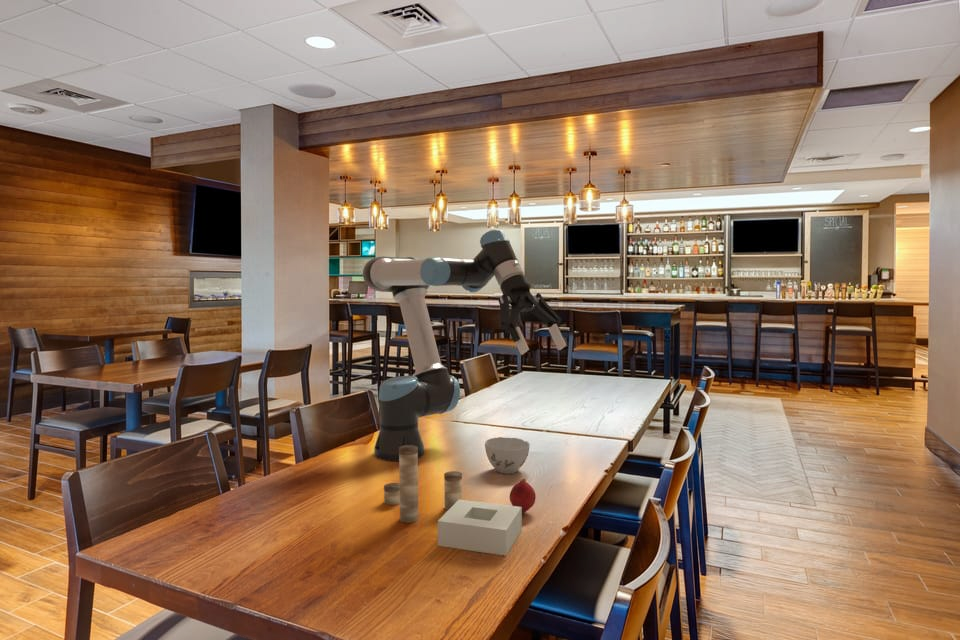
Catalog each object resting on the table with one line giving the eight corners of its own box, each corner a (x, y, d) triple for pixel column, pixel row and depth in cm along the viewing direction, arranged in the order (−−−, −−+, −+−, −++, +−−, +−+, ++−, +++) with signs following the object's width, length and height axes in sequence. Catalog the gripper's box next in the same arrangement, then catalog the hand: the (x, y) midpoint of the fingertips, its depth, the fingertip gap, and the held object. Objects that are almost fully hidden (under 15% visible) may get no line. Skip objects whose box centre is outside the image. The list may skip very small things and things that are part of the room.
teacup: (516, 481, 150) (516, 451, 149) (476, 473, 156) (475, 444, 156) (541, 466, 162) (541, 438, 162) (502, 459, 169) (502, 432, 168)
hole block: (438, 545, 112) (437, 520, 112) (459, 521, 123) (458, 499, 123) (506, 555, 108) (506, 530, 107) (521, 530, 119) (521, 506, 119)
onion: (528, 520, 124) (528, 484, 124) (505, 514, 127) (505, 479, 127) (539, 511, 129) (539, 476, 129) (517, 506, 132) (517, 472, 132)
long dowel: (396, 521, 124) (395, 449, 123) (404, 514, 128) (403, 444, 127) (413, 524, 122) (412, 451, 122) (421, 516, 126) (420, 446, 125)
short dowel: (381, 504, 134) (380, 487, 134) (389, 498, 138) (388, 482, 137) (396, 506, 132) (396, 489, 132) (404, 500, 136) (404, 483, 136)
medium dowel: (441, 510, 130) (441, 475, 130) (448, 503, 134) (448, 470, 133) (458, 512, 129) (458, 477, 128) (464, 505, 133) (464, 472, 132)
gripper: (484, 272, 142) (516, 346, 134) (552, 273, 158) (585, 339, 150) (468, 289, 147) (499, 361, 139) (536, 288, 163) (567, 352, 155)
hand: (544, 349), depth 144 cm, fingers open, 13 cm apart
